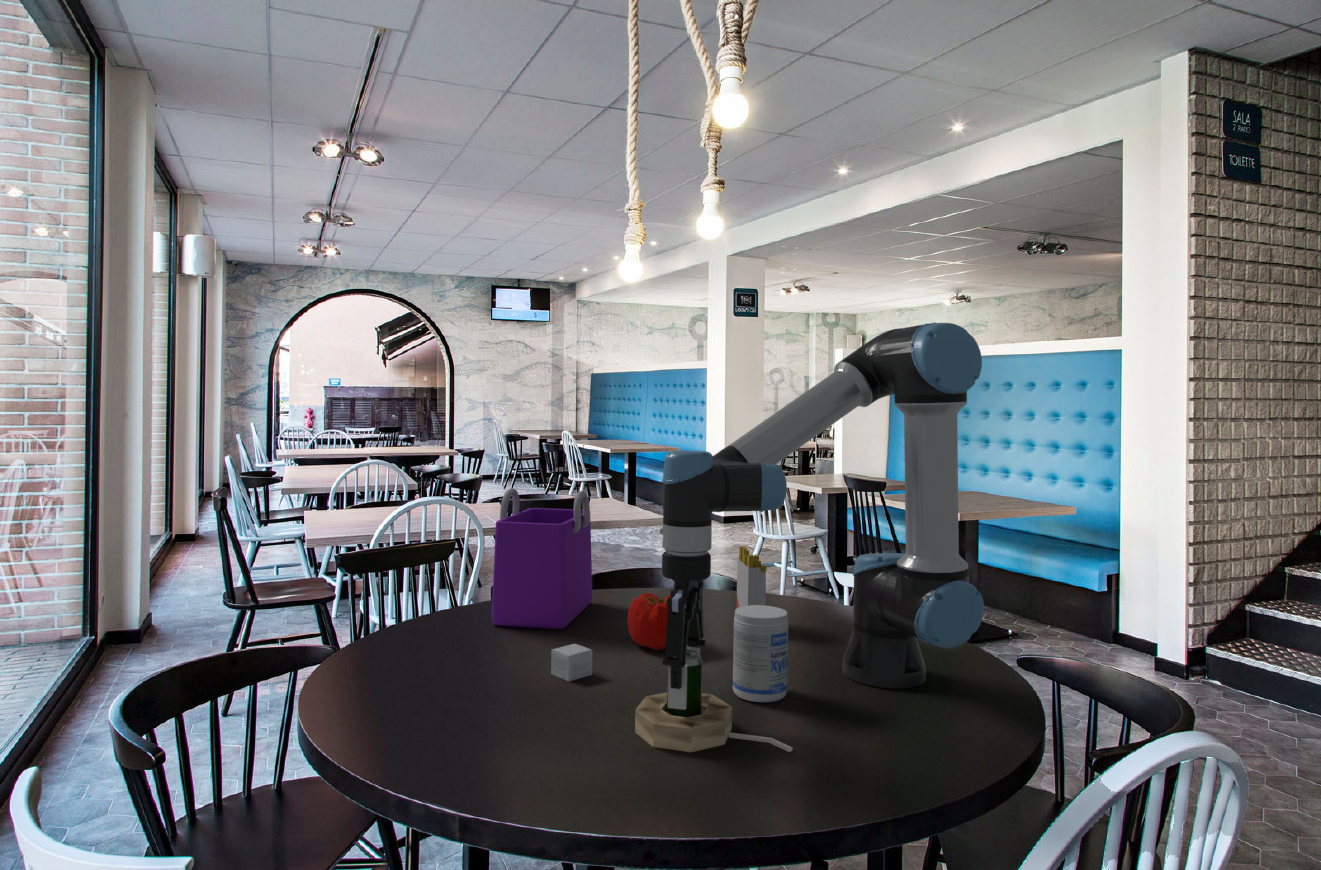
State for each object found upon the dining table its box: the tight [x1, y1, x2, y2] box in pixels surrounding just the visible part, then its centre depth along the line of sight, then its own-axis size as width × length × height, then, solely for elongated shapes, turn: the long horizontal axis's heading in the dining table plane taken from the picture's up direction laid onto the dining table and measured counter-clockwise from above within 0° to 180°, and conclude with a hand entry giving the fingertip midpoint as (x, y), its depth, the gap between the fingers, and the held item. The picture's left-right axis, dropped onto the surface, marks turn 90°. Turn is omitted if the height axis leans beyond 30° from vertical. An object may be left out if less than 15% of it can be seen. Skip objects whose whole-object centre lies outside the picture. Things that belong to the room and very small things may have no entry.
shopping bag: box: [491, 488, 593, 630], centre depth 186 cm, size 28×22×30 cm
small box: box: [550, 643, 593, 682], centre depth 145 cm, size 6×6×5 cm
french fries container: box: [736, 545, 768, 609], centre depth 177 cm, size 5×11×18 cm, turn 7°
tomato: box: [627, 592, 671, 651], centre depth 163 cm, size 14×13×10 cm
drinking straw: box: [728, 732, 793, 753], centre depth 116 cm, size 10×3×1 cm, turn 74°
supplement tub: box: [732, 605, 789, 703], centre depth 136 cm, size 10×10×15 cm
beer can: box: [666, 649, 703, 717], centre depth 120 cm, size 5×5×12 cm
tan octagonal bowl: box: [634, 692, 733, 753], centre depth 120 cm, size 14×14×4 cm
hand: (684, 697), depth 120 cm, fingers open, 8 cm apart
